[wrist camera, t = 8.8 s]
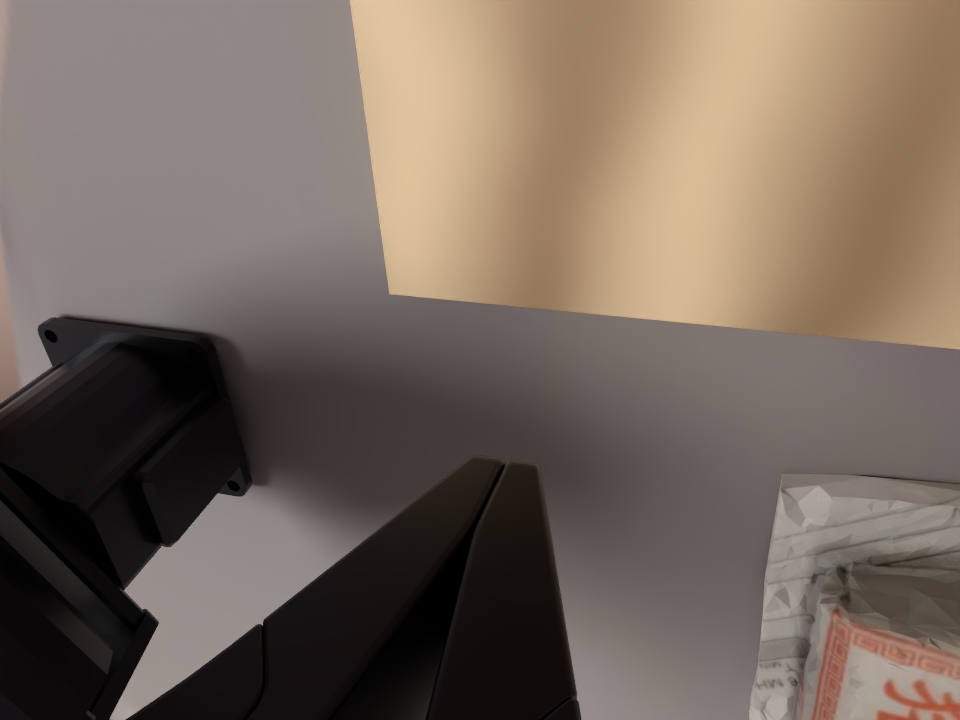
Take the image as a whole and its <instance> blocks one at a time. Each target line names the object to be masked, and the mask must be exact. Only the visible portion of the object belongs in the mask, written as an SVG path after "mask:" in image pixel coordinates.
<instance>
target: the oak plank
mask: <svg viewBox="0 0 960 720" xmlns="http://www.w3.org/2000/svg"><path fill="white" fill-rule="evenodd" d="M350 4H351V12H352V19H353V27H354V34H355V41H356V49H357V56H358V64H359V71H360V79H361V86H362V94H363V101H364V109H365V116H366V124H367V131H368V138H369V146H370V153H371V161H372V168H373V176H374V183H375V191H376V198H377V206H378V213H379V220H380V228H381V235H382V243H383V250H384V258H385V265H386V273H387V280H388V288H389V294H394V295H404V296H414V297H425V298H435V299H445V300H455V301H466V302H476V303H486V304H497V305H507V306H517V307H528V308H538V309H548V310H558V311H569V312H579V313H589V314H600V315H610V316H620V317H631V318H641V319H651V320H661V321H672V322H682V323H692V324H703V325H713V326H723V327H734V328H744V329H754V330H764V331H775V332H785V333H795V334H806V335H816V336H826V337H837V338H847V339H857V340H867V341H878V342H888V343H898V344H909V345H919V346H929V347H940V348H950V349H960V0H350Z"/></svg>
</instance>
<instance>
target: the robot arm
mask: <svg viewBox="0 0 960 720" xmlns="http://www.w3.org/2000/svg"><path fill="white" fill-rule="evenodd" d="M38 333H39V336H40V338H41V340H42V343H43V345H44V347H45V350H46V352H47V354H48V357H49V359H50V361H51V364H52V366H53V367H51V368H50V369H49V370H47V371H46V372H44V373H43V374H42V375H40V376H39V377H37V378H36V379H34V380H33V381H32V382H30V383H29V384H27V385H26V386H24V387H23V388H22V389H20V390H19V391H17V392H16V393H15V394H13V395H12V396H10V397H9V398H7V399H6V400H5V401H3V402H2V403H0V720H109V718H110V716H111V715H112V713H113V711H114V709H115V707H116V705H117V703H118V701H119V699H120V697H121V695H122V693H123V691H124V690H125V688H126V686H127V684H128V682H129V680H130V678H131V676H132V674H133V672H134V670H135V668H136V666H137V664H138V663H139V661H140V659H141V657H142V655H143V653H144V651H145V649H146V647H147V645H148V643H149V641H150V639H151V638H152V636H153V634H154V632H155V630H156V628H157V626H158V623H159V622H158V620H157V619H156V618H155V617H154V616H153V615H152V614H151V613H150V612H149V611H148V610H147V609H144V610H142V609H141V608H140V607H139V606H138V605H137V604H136V603H135V602H134V601H133V600H132V599H131V598H130V597H129V596H128V595H127V594H126V593H125V592H124V590H125V588H126V587H127V586H128V585H129V584H130V583H131V581H132V580H133V579H134V578H135V577H136V576H137V574H138V573H139V572H140V571H141V570H142V569H143V567H144V566H145V565H146V564H147V563H148V562H149V560H150V559H151V558H152V557H153V556H154V555H155V553H156V552H157V551H158V550H159V549H160V548H161V546H164V547H171V546H172V545H173V544H175V543H176V542H177V541H178V540H179V539H180V537H181V536H182V535H183V534H184V533H185V531H186V530H187V529H188V528H189V527H190V525H191V524H192V523H193V522H194V521H195V519H196V518H197V517H198V516H199V515H200V513H201V512H202V511H203V510H204V509H205V507H206V506H207V505H208V504H209V503H210V502H211V500H212V499H213V498H214V497H215V496H216V494H217V493H221V494H226V495H232V496H243V495H245V493H246V492H247V491H248V490H249V488H250V487H251V485H252V479H251V476H250V472H249V469H248V465H247V462H246V458H245V454H244V451H243V447H242V444H241V440H240V437H239V433H238V430H237V426H236V422H235V419H234V415H233V412H232V408H231V405H230V401H229V397H228V394H227V390H226V387H225V383H224V380H223V376H222V372H221V369H220V365H219V362H218V358H217V355H216V351H215V348H214V346H213V344H212V343H211V342H210V341H209V340H208V339H206V338H205V337H203V336H200V335H195V334H187V333H179V332H171V331H162V330H154V329H146V328H137V327H129V326H121V325H113V324H104V323H96V322H88V321H80V320H71V319H63V318H50V319H48V320H47V321H45V322H43V323H42V324H41V325H39V327H38ZM196 350H197V351H199V353H200V354H199V353H198V352H197V351H196ZM126 720H581V714H580V707H579V702H578V701H577V691H576V685H575V679H574V673H573V667H572V661H571V654H570V648H569V642H568V636H567V630H566V624H565V617H564V611H563V605H562V599H561V593H560V587H559V581H558V574H557V568H556V562H555V556H554V550H553V544H552V537H551V531H550V525H549V519H548V513H547V507H546V500H545V494H544V488H543V482H542V476H541V470H540V468H539V466H538V465H536V464H532V463H525V462H519V461H509V462H507V463H506V462H505V461H504V460H503V459H500V458H493V457H487V456H480V455H475V456H473V457H471V458H469V459H468V460H467V461H465V462H464V463H463V464H461V465H460V466H459V467H458V468H456V469H455V470H454V471H453V472H451V473H450V474H449V475H447V476H446V477H445V478H444V479H442V480H441V481H440V482H439V483H437V484H436V485H435V486H433V487H432V488H431V489H430V490H428V491H427V492H426V493H425V494H423V495H422V496H421V497H419V498H418V499H417V500H416V501H414V502H413V503H412V504H411V505H409V506H408V507H407V508H405V509H404V510H403V511H402V512H400V513H399V514H398V515H396V516H395V517H394V518H393V519H391V520H390V521H389V522H388V523H386V524H385V525H384V526H382V527H381V528H380V529H379V530H377V531H376V532H375V533H374V534H372V535H371V536H370V537H368V538H367V539H366V540H365V541H363V542H362V543H361V544H360V545H358V546H357V547H356V548H354V549H353V550H352V551H351V552H349V553H348V554H347V555H346V556H344V557H343V558H342V559H340V560H339V561H338V562H337V563H335V564H334V565H333V566H332V567H330V568H329V569H328V570H326V571H325V572H324V573H323V574H321V575H320V576H319V577H317V578H316V579H315V580H314V581H312V582H311V583H310V584H309V585H307V586H306V587H305V588H303V589H302V590H301V591H300V592H298V593H297V594H296V595H295V596H293V597H292V598H291V599H289V600H288V601H287V602H286V603H284V604H283V605H282V606H281V607H279V608H278V609H277V610H275V611H274V612H273V613H272V614H270V615H269V616H268V617H267V618H265V619H264V621H263V626H262V625H261V624H258V625H256V626H255V627H253V628H252V629H251V630H250V631H248V632H247V633H246V634H244V635H243V636H242V637H241V638H239V639H238V640H237V641H236V642H234V643H233V644H232V645H230V646H229V647H228V648H226V649H225V650H224V651H222V652H221V653H220V654H218V655H217V656H216V657H214V658H213V659H212V660H210V661H209V662H208V663H206V664H205V665H204V666H202V667H201V668H200V669H198V670H197V671H196V672H194V673H193V674H192V675H190V676H189V677H188V678H186V679H185V680H183V681H182V682H180V683H179V684H178V685H176V686H175V687H173V688H172V689H170V690H169V691H167V692H166V693H164V694H163V695H161V696H160V697H158V698H157V699H156V700H154V701H153V702H151V703H150V704H148V705H147V706H145V707H144V708H142V709H141V710H139V711H138V712H137V713H135V714H134V715H132V716H130V717H129V718H127V719H126Z"/></svg>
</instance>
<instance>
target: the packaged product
mask: <svg viewBox="0 0 960 720" xmlns="http://www.w3.org/2000/svg"><path fill="white" fill-rule="evenodd" d="M750 703H751V707H750V710H749V720H960V484H951V483H939V482H927V481H914V480H902V479H890V478H878V477H867V476H857V475H847V474H782V478H781V484H780V490H779V495H778V501H777V507H776V512H775V518H774V524H773V530H772V536H771V542H770V548H769V555H768V561H767V567H766V573H765V581H764V601H763V617H762V627H761V636H760V646H759V656H758V667H757V672H756V676H755V680H754V684H753V688H752V692H751V701H750Z"/></svg>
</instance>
